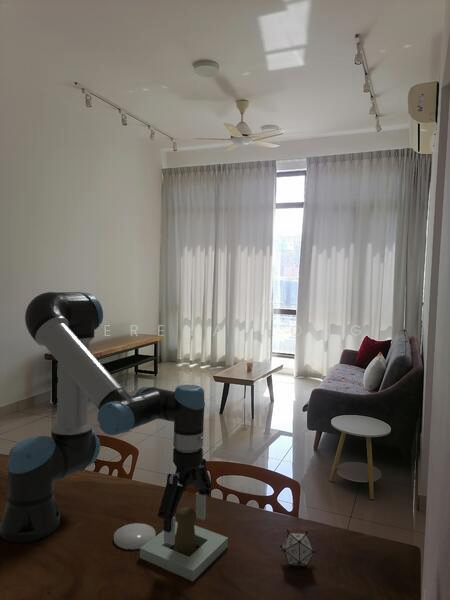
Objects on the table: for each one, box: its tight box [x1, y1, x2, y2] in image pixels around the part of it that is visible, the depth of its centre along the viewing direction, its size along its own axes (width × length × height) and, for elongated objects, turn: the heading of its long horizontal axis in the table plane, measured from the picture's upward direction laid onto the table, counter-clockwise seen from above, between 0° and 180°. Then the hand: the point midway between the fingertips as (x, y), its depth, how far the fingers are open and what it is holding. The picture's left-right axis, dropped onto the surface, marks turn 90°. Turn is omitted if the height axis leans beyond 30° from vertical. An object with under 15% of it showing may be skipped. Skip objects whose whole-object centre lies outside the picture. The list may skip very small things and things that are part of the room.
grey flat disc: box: [113, 522, 157, 551], centre depth 118 cm, size 11×11×1 cm
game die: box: [279, 529, 317, 570], centre depth 108 cm, size 9×8×10 cm
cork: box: [172, 506, 198, 557], centre depth 112 cm, size 6×6×11 cm
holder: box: [139, 520, 229, 582], centre depth 112 cm, size 16×16×2 cm
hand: (185, 530), depth 112 cm, fingers open, 13 cm apart
